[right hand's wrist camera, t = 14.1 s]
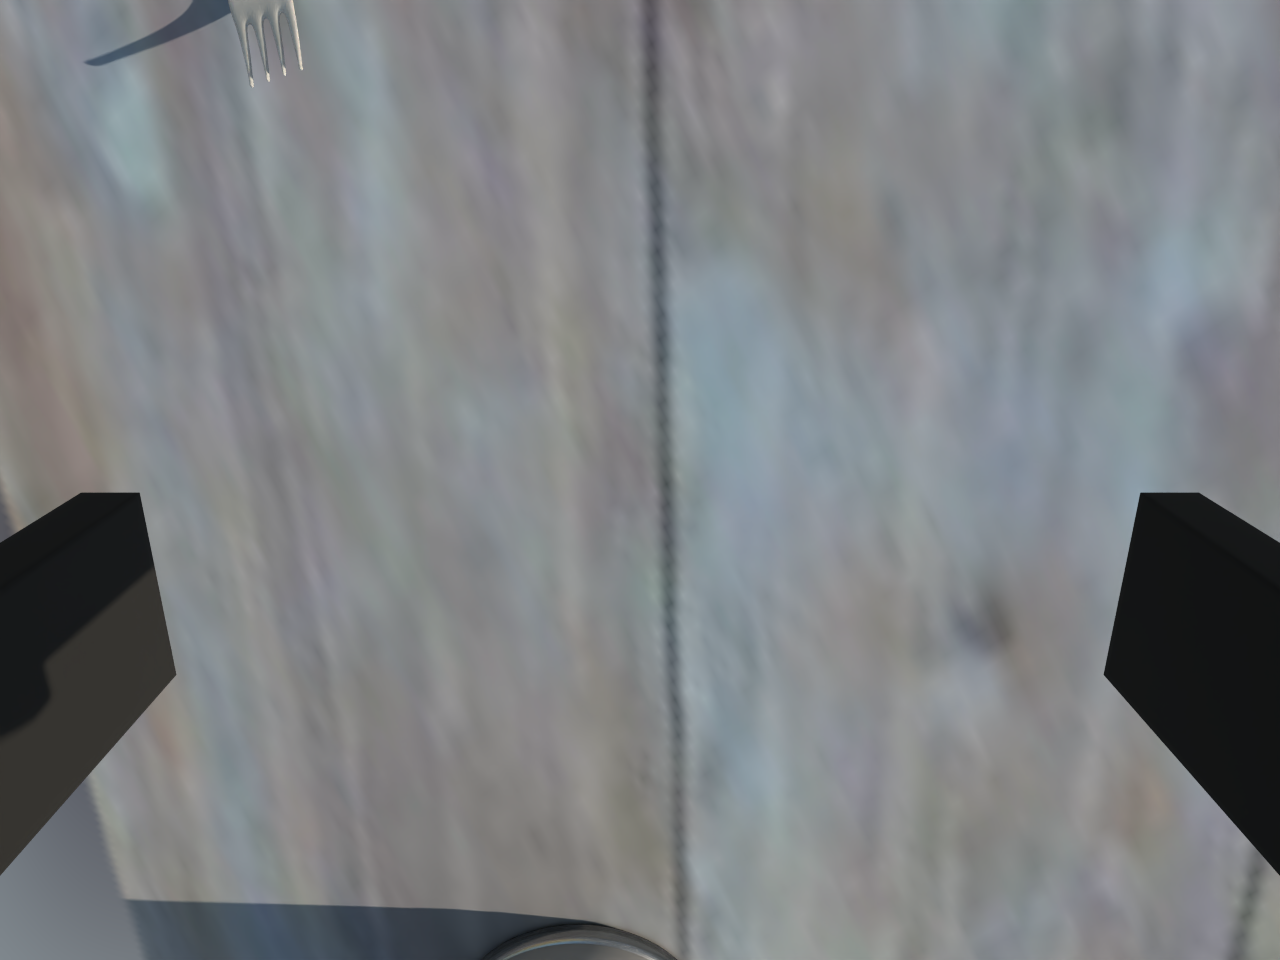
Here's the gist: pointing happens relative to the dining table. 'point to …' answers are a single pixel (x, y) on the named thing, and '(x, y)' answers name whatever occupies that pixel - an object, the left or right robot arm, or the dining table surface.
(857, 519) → the dining table surface
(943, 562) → the dining table surface
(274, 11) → the fork
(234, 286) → the dining table surface
